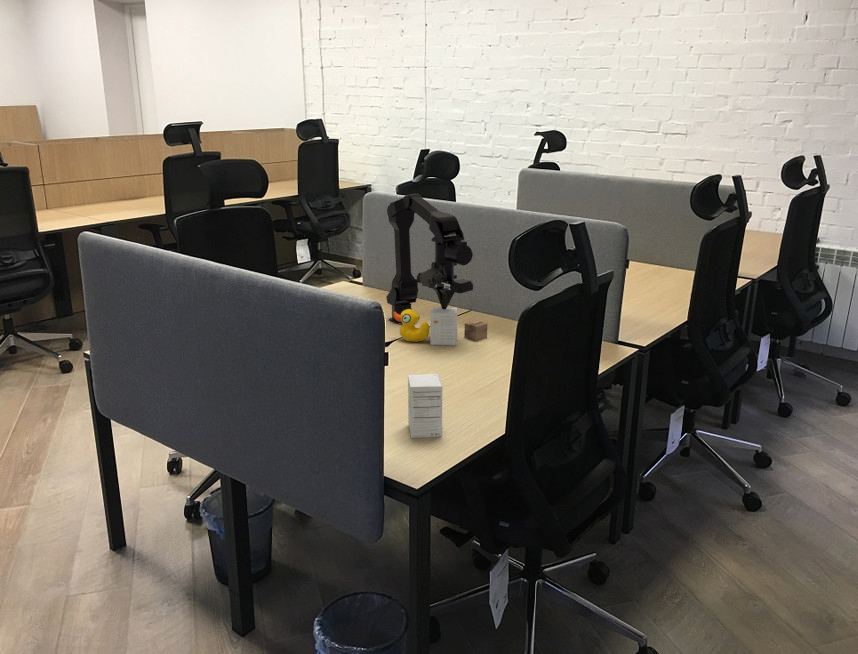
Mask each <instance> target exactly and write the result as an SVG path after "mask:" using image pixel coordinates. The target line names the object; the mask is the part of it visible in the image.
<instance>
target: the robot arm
mask: <svg viewBox="0 0 858 654" xmlns="http://www.w3.org/2000/svg"><path fill="white" fill-rule="evenodd" d="M386 212H387V213H386V214H387V217H388V223H389V224H390V226H391V227H392V228H393V230H394V231H393V232H394V250H395V251H394V252H395V258H394V259H395V275H394V277H393V279H392V281H391V289H390V290H389V292H388V293H387V295H386V298H385V299H386V303H387V304H389V306H390V305H391V317H390V318H388V321H390V322H393V323H396V324H398V325H403V323H402V322H399V321H397V320H395V318H394V315H393V314H394V312H396V313H397V314H399V315H401V313H402V312H403V311H404V310H407V309H411V310H413V308H412V303H413V304H415V303H416V302H417V299H418V294H419V287H418V284H419V283H420V284H421V285H422V287H427V288H428V289H432V290H433V291H434V292H435V293H436V295H437V298H438V300H439V303H440V306H441V307H442V309H446V308H447V307H448V306H449V304H450V302H451V301H452V298H453V296H454V294H463V293H468V292H471V291H474V283H473V281H472V280H468V279H464V278H460V279H458V274H455V266H457V265H460V266H467V265H468V264H469V263H471V261H472V259H473V256H474V255H473V254H474V253H473V250H472V248H471V247H470V246H469V245H468V242H467V241H466V240H465V236H464V232H463V229H462V227H461V226H460V223H459V220H458V219H457V217H456V216H455V215H453V214H450V213H448V212H443V211H441V210H439V209H437V208H435V206H433V205H432V204H431V203H429V202H428V201H427V200H425V199H424V198H423V196H422V195H421V194H419V193H412V194H411V193H410V194H406V195H404V196H403V197H402V198H399V199H397V200H395V201H392V202H390V203H389V205H388V206H387V208H386ZM415 214H416V215H417V216H419V217H420V218H421V219H422V220H423V221H425V222H426V223H427V224H428V230H429V231H430V232H431V233H432V234H433V237H432V238H431V242H433V243H434V261H432V262H431V266H430V268H429V269H427V270H425V271H421V272H418V273H417V275H416V278H415V277H414V275H413V274H412V257H411V236H410V235H411V234H410V233H411V231H410V230H411V228H412V225H413V223H414V221H415ZM456 279H458V280H456Z"/></svg>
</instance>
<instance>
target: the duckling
mask: <svg viewBox="0 0 858 654" xmlns="http://www.w3.org/2000/svg"><path fill="white" fill-rule="evenodd" d="M393 315H394V318H395V320H397V321H399V322H402V323H403V324H401V326H400V327H399V333H400V336H401V338H403V340H404V341H407V342H414V343H418V342H422V341H424V340H426V339H427V338H428V337H429V335H430V324H429V323H428V322H427V321H422V322H421V324H420V326H419V327H416V326H415V325H416V324H417V322H418V321H419V320H420V315H419V314H418V313H417V312H416V311H415V310H413V309H412V310H411V309H407V310H404V311H403V312H402V313H401V315H399V314H397V313H396V312H394V314H393Z"/></svg>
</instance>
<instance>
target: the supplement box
mask: <svg viewBox="0 0 858 654" xmlns="http://www.w3.org/2000/svg"><path fill="white" fill-rule="evenodd" d="M407 397H408V398H407V399H408V401H407V403H408V408H407V409H408V411H407V412H408V413H407V414H408V417H407V418H408V421H407V422H408V426H409V427H408V428H409V433H410V438H411V439H413V438H414V439H417V438H420V439H421V438H441V437H443V384H442V380H441V378H440V374H439V373H428V374H427V373H426V374H408V375H407Z"/></svg>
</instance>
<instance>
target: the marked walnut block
mask: <svg viewBox="0 0 858 654" xmlns="http://www.w3.org/2000/svg"><path fill="white" fill-rule="evenodd" d="M463 331H464V334H463V335H464V339H466V340H469V341H473V342H474V343H475V342H476V343H477V342H480V341H483V340H485V339H488V322H485V321H481V320H479V319H474V320H470V321H466V322H464V329H463Z"/></svg>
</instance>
